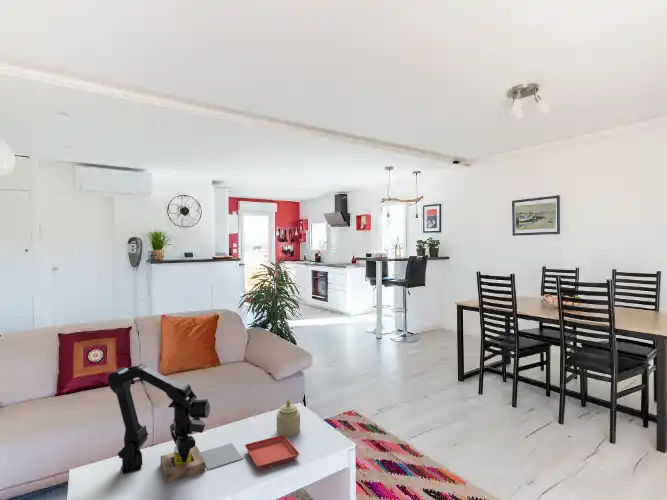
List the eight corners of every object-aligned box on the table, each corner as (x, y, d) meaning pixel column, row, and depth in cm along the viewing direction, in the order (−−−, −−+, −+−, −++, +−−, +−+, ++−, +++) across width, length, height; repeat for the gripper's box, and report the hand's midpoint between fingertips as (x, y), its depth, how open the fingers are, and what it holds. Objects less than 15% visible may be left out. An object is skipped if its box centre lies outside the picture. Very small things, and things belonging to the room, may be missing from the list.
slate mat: (207, 470, 149) (207, 469, 149) (199, 453, 160) (199, 452, 160) (242, 459, 156) (242, 458, 156) (232, 443, 168) (232, 443, 168)
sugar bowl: (269, 425, 184) (269, 395, 184) (290, 420, 190) (290, 390, 190) (282, 439, 172) (282, 406, 172) (304, 432, 178) (304, 400, 177)
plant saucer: (283, 441, 171) (283, 433, 171) (300, 461, 155) (300, 453, 155) (244, 452, 162) (244, 444, 162) (257, 474, 146) (257, 466, 146)
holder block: (166, 483, 141) (166, 474, 141) (160, 464, 152) (160, 456, 152) (205, 471, 148) (205, 462, 148) (196, 454, 160) (196, 445, 160)
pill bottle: (174, 474, 146) (174, 446, 146) (173, 466, 152) (173, 438, 151) (191, 469, 149) (191, 442, 149) (189, 461, 154) (189, 434, 154)
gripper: (209, 421, 146) (209, 461, 147) (197, 404, 162) (197, 440, 162) (178, 429, 140) (178, 471, 141) (169, 410, 156) (169, 447, 156)
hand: (182, 456), depth 150 cm, fingers open, 9 cm apart
